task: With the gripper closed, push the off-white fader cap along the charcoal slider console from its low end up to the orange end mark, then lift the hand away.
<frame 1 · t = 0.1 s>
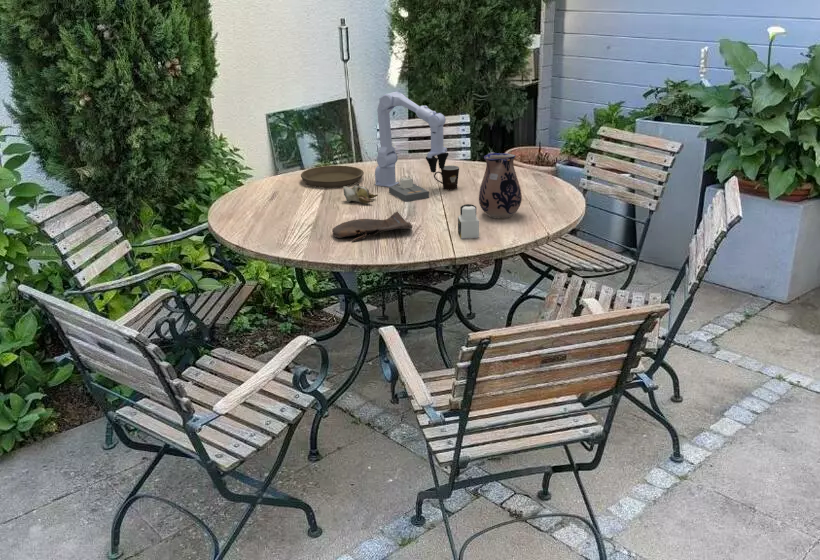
hand: (437, 170, 331), 10 cm above the table, fingers open, 7 cm apart
console: (408, 195, 330), on the table
fader: (406, 183, 330), point 5 cm above the table, slide at -2.0 cm
ceramic pitcher: (497, 214, 300), on the table
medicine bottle: (468, 236, 277), on the table
ceramic sculpture: (359, 202, 323), on the table
coffee mug: (447, 188, 339), on the table
glove: (372, 233, 285), on the table
plant saucer: (332, 181, 358), on the table
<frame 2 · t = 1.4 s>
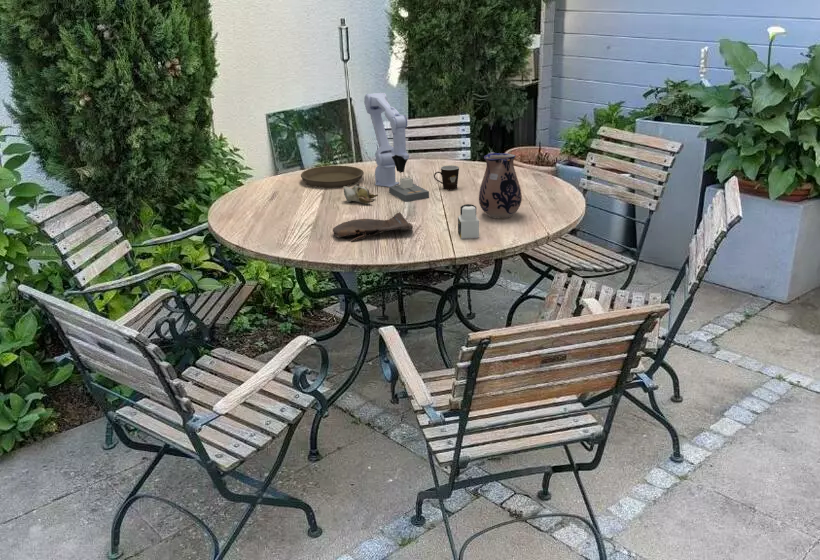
hand: (400, 171, 333), 9 cm above the table, fingers closed
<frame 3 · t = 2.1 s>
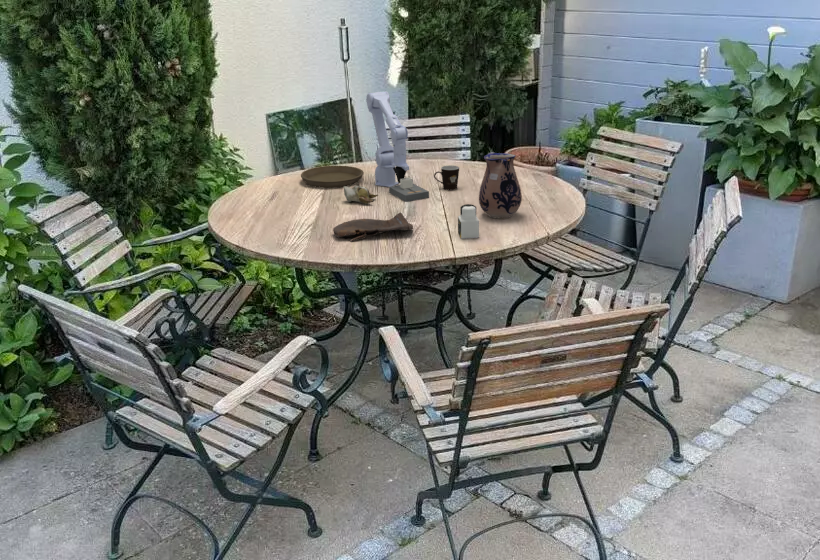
hand: (400, 182, 335), 4 cm above the table, fingers closed
nothing on the table moved.
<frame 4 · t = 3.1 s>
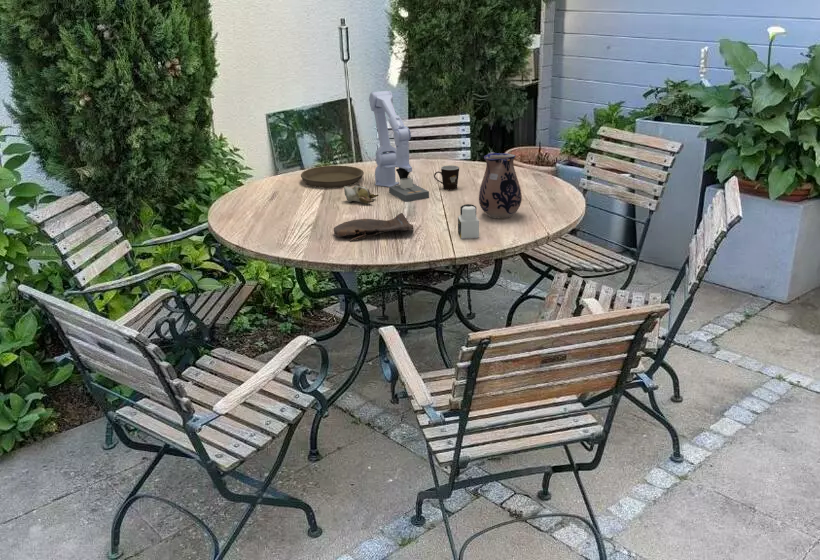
hand: (403, 184, 333), 4 cm above the table, fingers closed
fader: (406, 183, 330), point 5 cm above the table, slide at -1.9 cm, touching gripper
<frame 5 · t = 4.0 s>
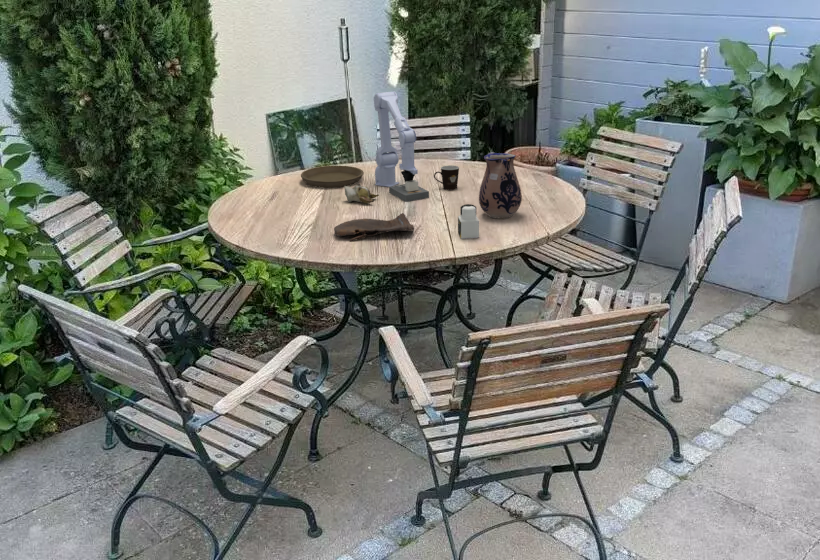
hand: (408, 186, 328), 4 cm above the table, fingers closed
fader: (411, 185, 325), point 5 cm above the table, slide at 3.3 cm, touching gripper
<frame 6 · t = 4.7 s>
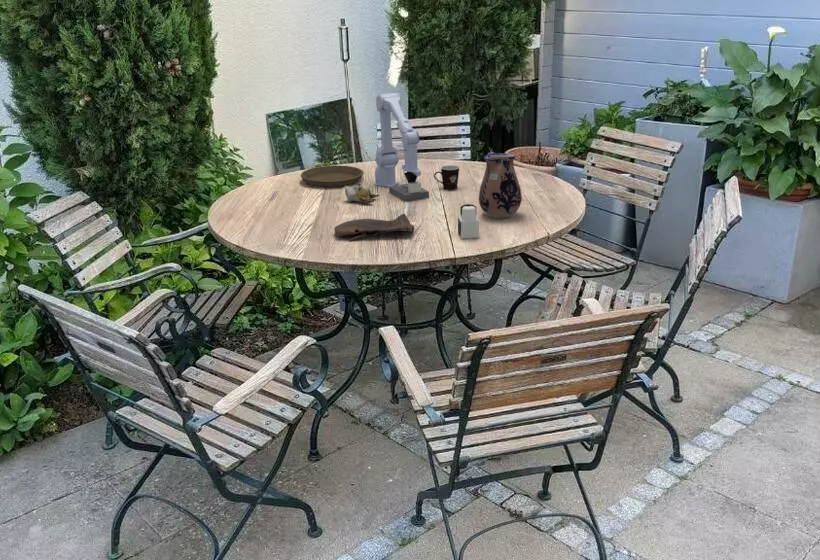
hand: (411, 188, 326), 4 cm above the table, fingers closed
fader: (414, 187, 323), point 5 cm above the table, slide at 6.1 cm, touching gripper
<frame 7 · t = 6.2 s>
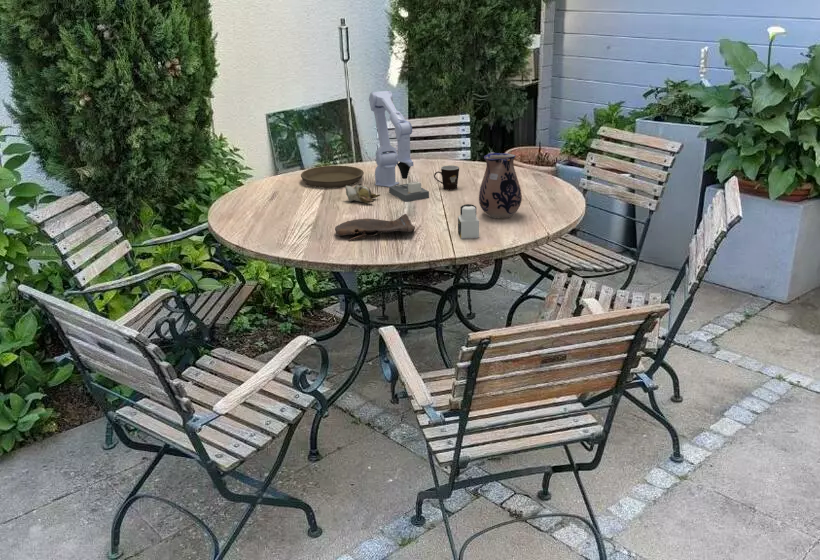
hand: (404, 178, 331), 7 cm above the table, fingers closed
fader: (414, 187, 323), point 5 cm above the table, slide at 6.1 cm
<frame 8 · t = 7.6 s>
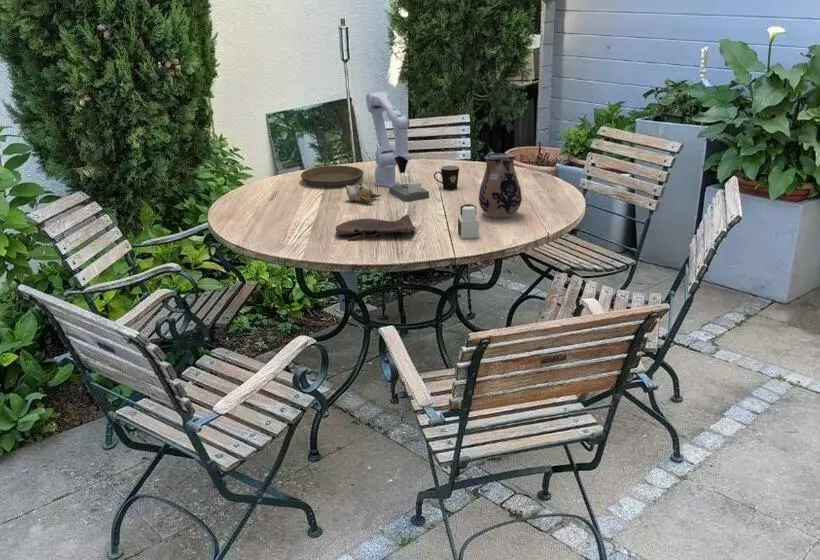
hand: (402, 172, 332), 9 cm above the table, fingers closed
at the end: fader slide at 6.1 cm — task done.
